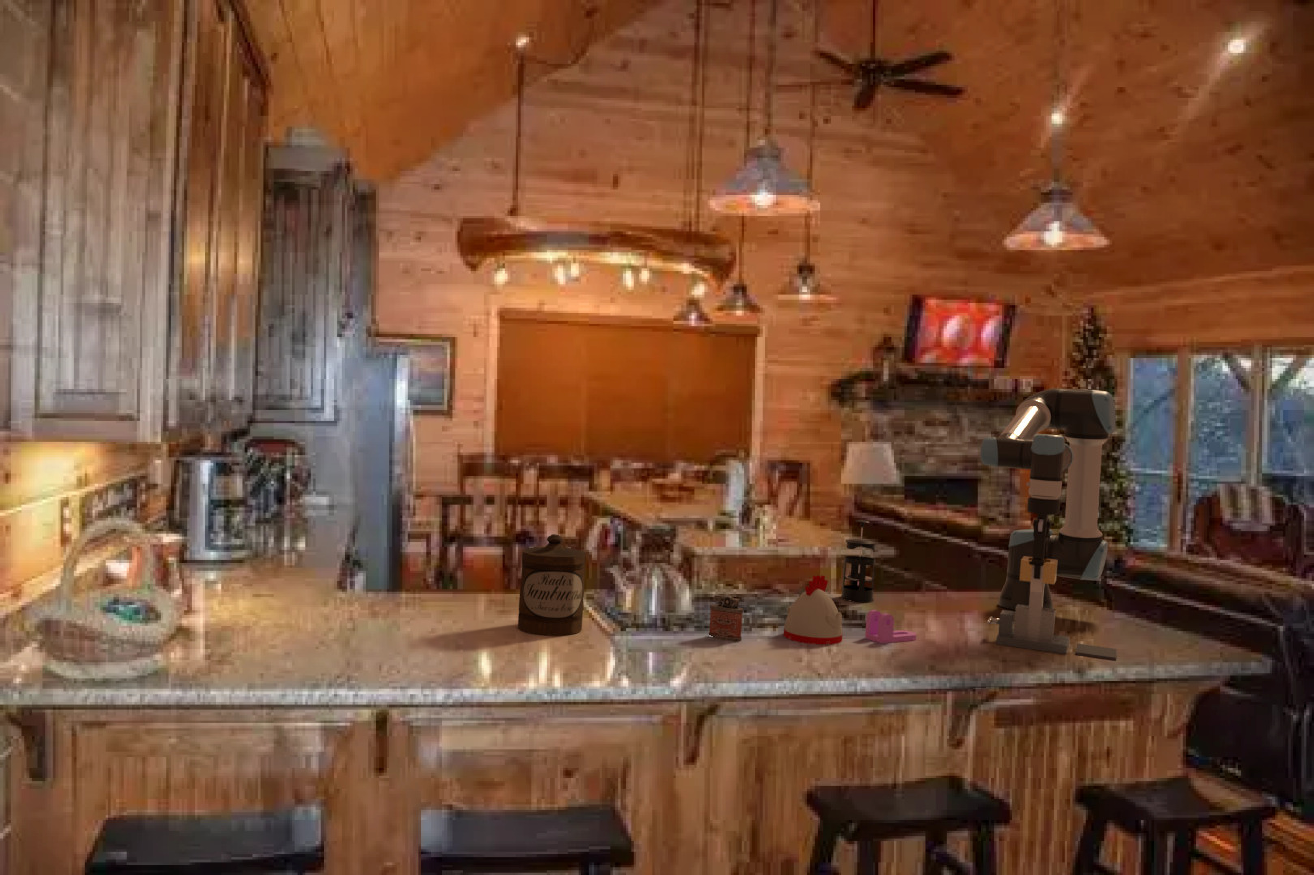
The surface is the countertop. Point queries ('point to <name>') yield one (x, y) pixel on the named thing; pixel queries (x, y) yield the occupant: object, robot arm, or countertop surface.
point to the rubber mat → (1096, 651)
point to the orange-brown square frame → (1048, 573)
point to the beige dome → (814, 616)
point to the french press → (858, 563)
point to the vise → (1030, 627)
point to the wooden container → (551, 589)
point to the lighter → (726, 619)
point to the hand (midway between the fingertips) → (1037, 589)
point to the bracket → (885, 629)
